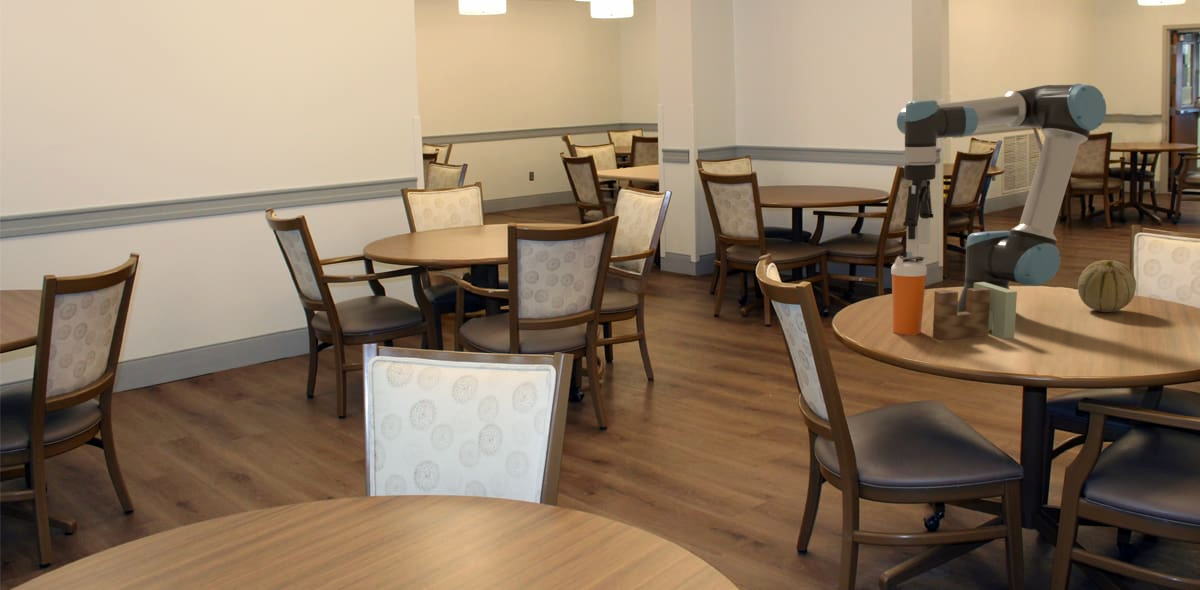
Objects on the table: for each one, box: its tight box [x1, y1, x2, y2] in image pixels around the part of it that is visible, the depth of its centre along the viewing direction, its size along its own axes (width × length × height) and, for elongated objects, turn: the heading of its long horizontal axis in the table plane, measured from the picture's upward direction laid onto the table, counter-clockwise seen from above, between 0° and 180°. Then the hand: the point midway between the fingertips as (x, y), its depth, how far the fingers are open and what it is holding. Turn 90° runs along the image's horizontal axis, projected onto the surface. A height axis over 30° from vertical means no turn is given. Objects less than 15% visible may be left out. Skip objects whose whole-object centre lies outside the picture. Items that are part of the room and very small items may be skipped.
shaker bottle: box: [890, 255, 928, 336], centre depth 263 cm, size 9×9×20 cm
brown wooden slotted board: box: [932, 288, 990, 341], centre depth 258 cm, size 14×3×12 cm, turn 103°
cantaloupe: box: [1077, 259, 1137, 313], centre depth 281 cm, size 15×15×15 cm
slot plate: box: [974, 282, 1018, 340], centre depth 262 cm, size 14×3×12 cm, turn 13°
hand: (918, 247), depth 256 cm, fingers open, 13 cm apart
